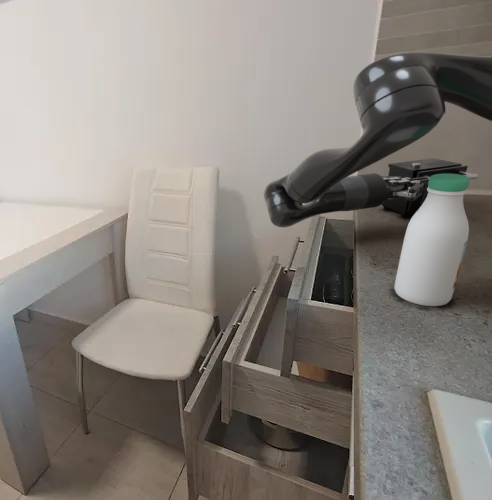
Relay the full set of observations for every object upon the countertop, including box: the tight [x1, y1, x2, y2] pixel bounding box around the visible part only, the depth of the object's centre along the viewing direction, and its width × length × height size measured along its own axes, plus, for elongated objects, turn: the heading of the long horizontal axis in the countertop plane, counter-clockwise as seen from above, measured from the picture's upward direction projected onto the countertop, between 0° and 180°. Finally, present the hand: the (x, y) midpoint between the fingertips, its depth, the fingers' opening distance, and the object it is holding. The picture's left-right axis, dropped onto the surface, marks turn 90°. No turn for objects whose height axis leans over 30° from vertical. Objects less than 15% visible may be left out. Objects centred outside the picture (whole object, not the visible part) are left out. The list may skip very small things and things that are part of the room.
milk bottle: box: [393, 174, 471, 307], centre depth 57 cm, size 8×8×20 cm
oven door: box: [407, 165, 479, 212], centre depth 85 cm, size 4×17×10 cm, turn 96°
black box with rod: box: [381, 157, 463, 219], centre depth 92 cm, size 8×12×13 cm
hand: (429, 182), depth 82 cm, fingers closed
